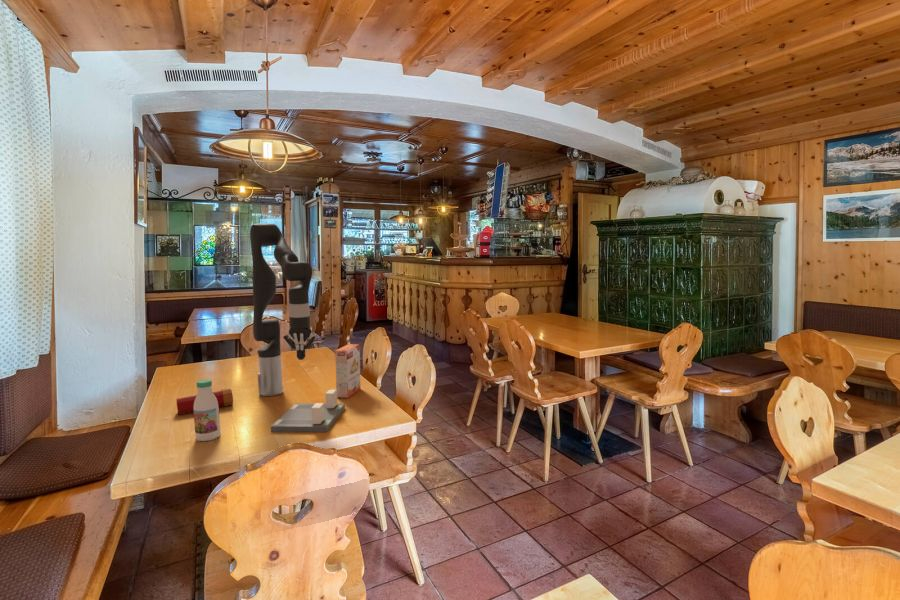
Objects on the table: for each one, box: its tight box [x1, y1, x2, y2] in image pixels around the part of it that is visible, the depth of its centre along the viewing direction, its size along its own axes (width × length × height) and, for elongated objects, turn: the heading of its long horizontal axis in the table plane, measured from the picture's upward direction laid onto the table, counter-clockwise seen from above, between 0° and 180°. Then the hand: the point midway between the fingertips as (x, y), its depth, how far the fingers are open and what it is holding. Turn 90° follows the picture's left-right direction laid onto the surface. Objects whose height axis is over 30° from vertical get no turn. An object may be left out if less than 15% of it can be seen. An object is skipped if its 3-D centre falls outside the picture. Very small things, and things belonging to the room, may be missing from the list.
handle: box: [325, 388, 338, 408], centre depth 187 cm, size 3×5×6 cm, turn 177°
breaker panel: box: [270, 402, 346, 433], centre depth 180 cm, size 20×24×2 cm
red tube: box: [175, 388, 234, 415], centre depth 192 cm, size 7×20×7 cm, turn 123°
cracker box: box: [334, 343, 361, 399], centre depth 209 cm, size 14×6×21 cm, turn 168°
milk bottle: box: [193, 379, 221, 442], centre depth 163 cm, size 8×8×20 cm
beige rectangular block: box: [311, 402, 325, 424], centre depth 171 cm, size 3×5×6 cm, turn 177°
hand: (301, 359), depth 182 cm, fingers closed
